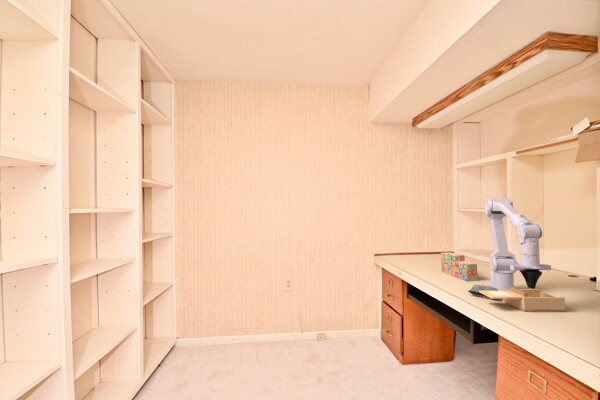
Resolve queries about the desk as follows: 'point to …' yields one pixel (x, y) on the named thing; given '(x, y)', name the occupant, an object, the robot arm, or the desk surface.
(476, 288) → the packaged food
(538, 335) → the desk surface
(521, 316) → the desk surface
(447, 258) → the stack of blocks
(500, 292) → the lid
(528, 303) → the light brown rectangular box
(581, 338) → the desk surface
